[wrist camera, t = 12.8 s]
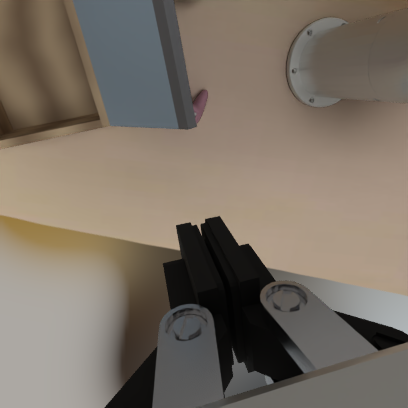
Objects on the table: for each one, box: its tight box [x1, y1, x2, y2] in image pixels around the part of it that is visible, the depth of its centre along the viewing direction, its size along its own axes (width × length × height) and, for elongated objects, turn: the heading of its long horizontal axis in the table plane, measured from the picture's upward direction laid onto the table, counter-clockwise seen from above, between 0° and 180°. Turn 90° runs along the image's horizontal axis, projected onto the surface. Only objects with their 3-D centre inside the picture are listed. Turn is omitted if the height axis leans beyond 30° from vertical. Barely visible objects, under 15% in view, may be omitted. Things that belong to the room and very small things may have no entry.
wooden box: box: [0, 0, 110, 149], centre depth 32 cm, size 14×24×12 cm, turn 10°
